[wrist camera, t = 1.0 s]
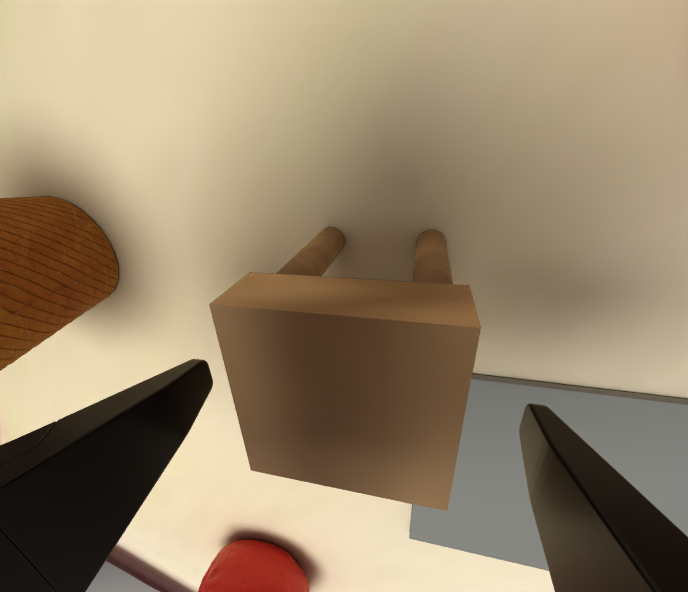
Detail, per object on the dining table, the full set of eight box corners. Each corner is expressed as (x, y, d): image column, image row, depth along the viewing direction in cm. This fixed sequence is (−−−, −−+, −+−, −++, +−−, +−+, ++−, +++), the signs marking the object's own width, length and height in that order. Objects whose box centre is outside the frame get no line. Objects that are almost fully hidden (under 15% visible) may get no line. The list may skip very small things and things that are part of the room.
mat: (795, 411, 13) (805, 419, 13) (653, 587, 20) (657, 595, 20) (426, 368, 17) (426, 373, 16) (409, 532, 23) (409, 538, 23)
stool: (452, 225, 13) (480, 327, 6) (438, 345, 16) (447, 510, 9) (313, 222, 15) (209, 304, 8) (322, 334, 17) (250, 470, 10)
